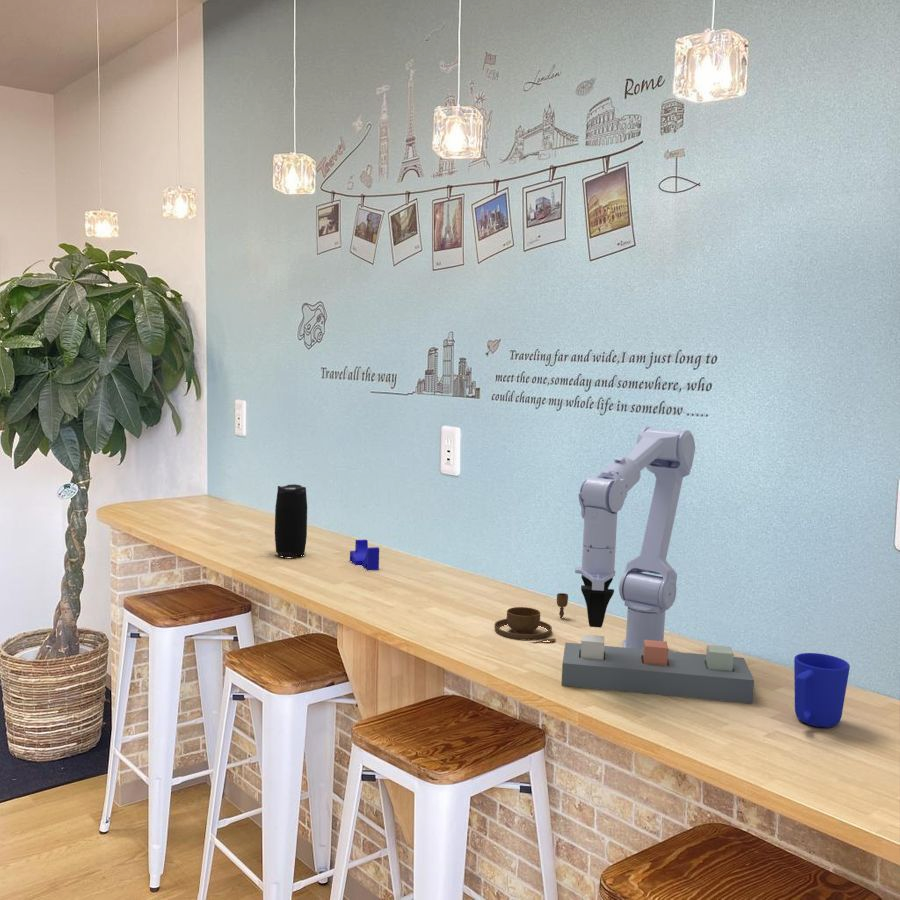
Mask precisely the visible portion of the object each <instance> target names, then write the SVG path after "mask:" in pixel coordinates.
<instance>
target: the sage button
mask: <svg viewBox="0 0 900 900" xmlns="http://www.w3.org/2000/svg"><path fill="white" fill-rule="evenodd" d="M733 657H735V656H734V651H733V649H732V647H731V646H726V645H725V646H724V645H723V646H722V645H713V644H707V645H706V668H707V669H712V670H723V671H733Z"/></svg>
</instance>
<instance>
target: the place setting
mask: <svg viewBox="0 0 900 900" xmlns="http://www.w3.org/2000/svg"><path fill="white" fill-rule="evenodd" d="M568 602H569V594H568V593H566V592H565V593H562V592H558V593H557V594H556V605H557V607H558V608H559V612H558V613H559V617H560V618H562V617H563V618H564V615H565V611H564V610H565V608H566V607H567V606H568ZM507 624H508V625H507ZM504 625H507V626H508V627H509V628H510V629H512V631H513V632H509V631H506V630H503V629H501V628H503V627H505V626H504ZM502 626H503V627H502ZM538 626H541V627H544V628H546V629H547V630H548V631H545V632H541V633H533V631H536V630H537V629H538V628H539V627H538ZM500 627H501V628H500ZM552 628H553V627H552V625H550V623H547V622H545V621H543V620H541V611H540V610H538V609H536V608H532V607H527V606H524V607H523V606H517V607H516V606H515V607H511V608H508V609H507V610H506V618H504V619H499V620H497V621H496V622H495V623H494V631H495V632H496V634H498V635H500V636H502V637H504V636H505V637H504V638H508V637H509V639H513V638H514V639H513V640H520V639H525V640H524V641H531V640H532V641H533V642H532V641H531V642H530V643H533V644H552V643H555V642H556V640H557V639H556V638H548V637H549V636H550V635H551V634H552V630H553V629H552ZM515 632H516V633H515ZM540 638H542V639H540ZM528 639H529V640H528ZM533 639H536V640H537V641H534V640H533ZM538 640H539V641H538ZM547 640H548V641H550V642H543V641H547ZM551 642H552V643H551Z"/></svg>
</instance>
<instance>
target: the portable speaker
mask: <svg viewBox="0 0 900 900" xmlns="http://www.w3.org/2000/svg"><path fill="white" fill-rule="evenodd" d="M306 488H307V487H306V486H302V485H300V484H294V483H293V484H287V485H284V486H281V485H278V486H277V492H276V501H275V510H274V512H275V513H274V541H275V543H274V544H275V552H276V554H277V555H278V557H279V556H283V557H293V558H294V557H295V556H301V555H302V556H301V557H304V556H305V555H306V554H305V551H306V544H307V538H308V537H307V535H308V534H307V533H308V500H307V499H308V498H307V497H308V496H307V489H306ZM303 555H304V556H303Z"/></svg>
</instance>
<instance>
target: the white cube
mask: <svg viewBox="0 0 900 900" xmlns="http://www.w3.org/2000/svg"><path fill="white" fill-rule="evenodd" d="M580 644H581V658H587V659H599V660H603V658H604V646H605V635H595V634H581V643H580Z"/></svg>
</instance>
